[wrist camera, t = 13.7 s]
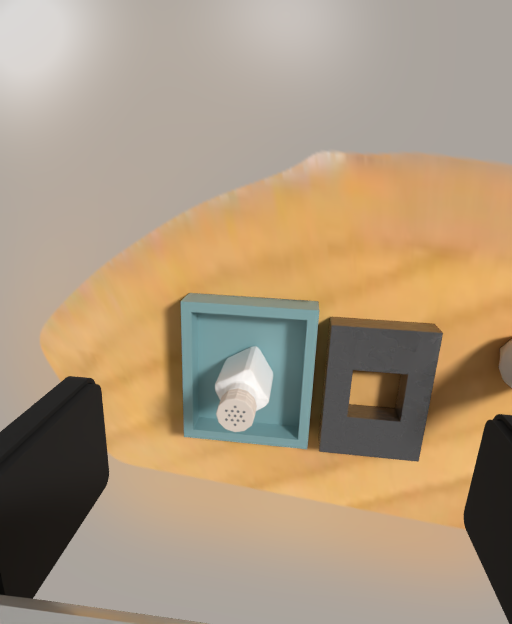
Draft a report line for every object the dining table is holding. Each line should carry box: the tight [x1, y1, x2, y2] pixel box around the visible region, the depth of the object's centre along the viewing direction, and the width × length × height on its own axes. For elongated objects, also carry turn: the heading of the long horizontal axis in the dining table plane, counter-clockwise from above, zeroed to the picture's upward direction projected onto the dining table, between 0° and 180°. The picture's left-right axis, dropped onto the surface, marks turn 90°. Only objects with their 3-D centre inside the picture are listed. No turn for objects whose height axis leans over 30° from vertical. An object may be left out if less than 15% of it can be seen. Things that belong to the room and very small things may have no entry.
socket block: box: [319, 317, 443, 462], centre depth 41 cm, size 10×14×2 cm
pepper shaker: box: [215, 346, 273, 432], centre depth 38 cm, size 4×4×10 cm
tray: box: [181, 293, 319, 449], centre depth 41 cm, size 13×15×3 cm
